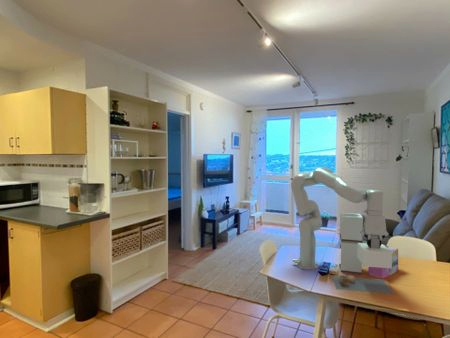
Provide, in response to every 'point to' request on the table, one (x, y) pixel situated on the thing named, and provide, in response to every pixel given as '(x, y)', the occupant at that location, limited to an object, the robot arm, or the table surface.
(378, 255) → the cover
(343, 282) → the walnut block
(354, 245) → the tall pale grey box
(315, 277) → the table surface
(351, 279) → the brown egg
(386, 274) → the gum box
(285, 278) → the table surface
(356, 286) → the board
